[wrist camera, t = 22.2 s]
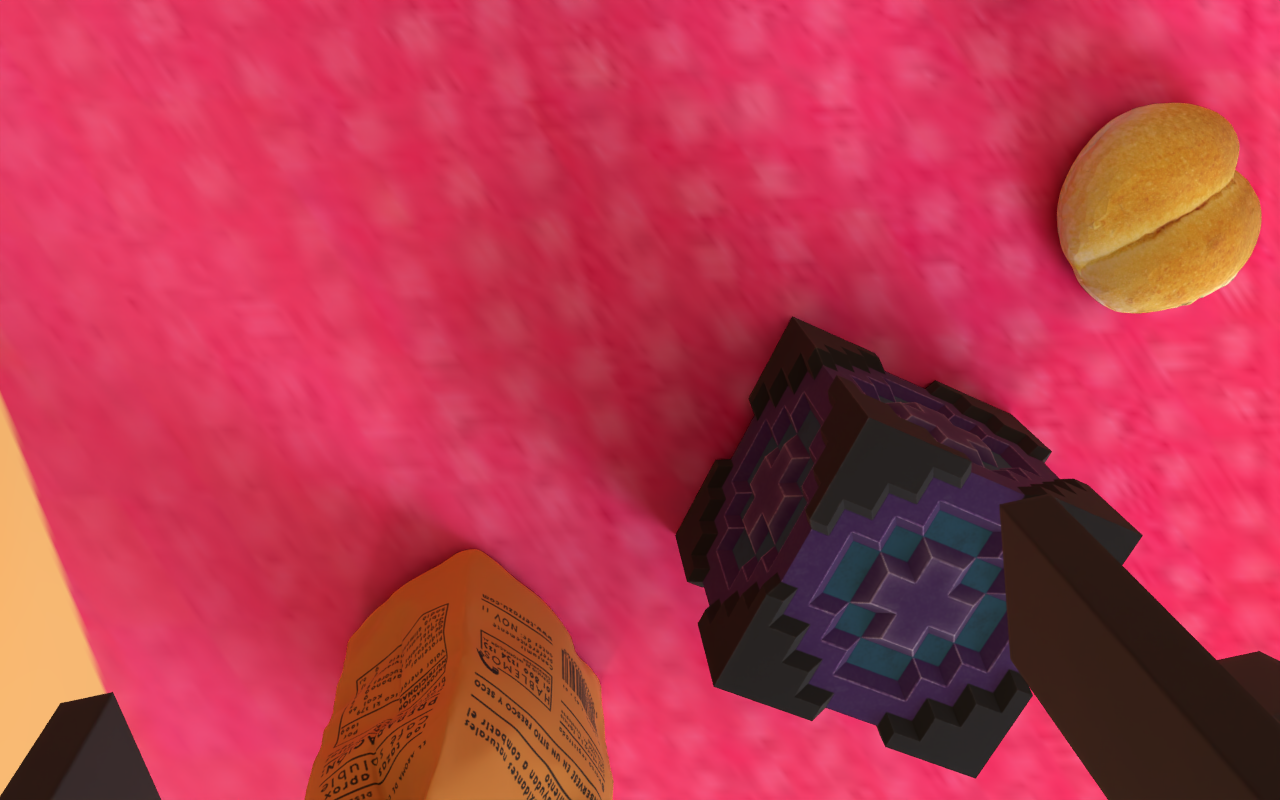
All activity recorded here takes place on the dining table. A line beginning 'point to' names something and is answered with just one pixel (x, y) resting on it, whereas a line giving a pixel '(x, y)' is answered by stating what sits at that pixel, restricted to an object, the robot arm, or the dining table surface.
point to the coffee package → (464, 698)
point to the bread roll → (1158, 209)
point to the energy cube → (872, 550)
